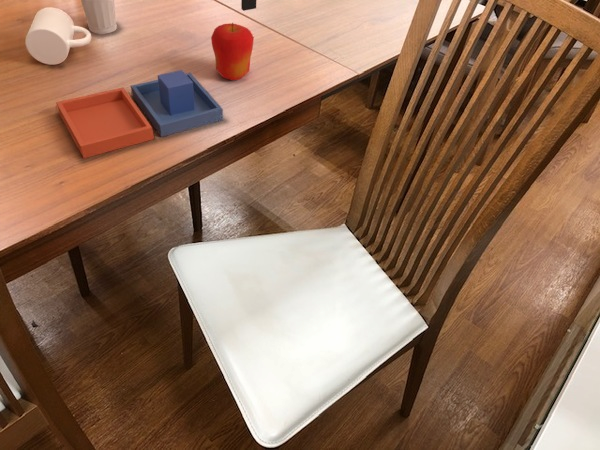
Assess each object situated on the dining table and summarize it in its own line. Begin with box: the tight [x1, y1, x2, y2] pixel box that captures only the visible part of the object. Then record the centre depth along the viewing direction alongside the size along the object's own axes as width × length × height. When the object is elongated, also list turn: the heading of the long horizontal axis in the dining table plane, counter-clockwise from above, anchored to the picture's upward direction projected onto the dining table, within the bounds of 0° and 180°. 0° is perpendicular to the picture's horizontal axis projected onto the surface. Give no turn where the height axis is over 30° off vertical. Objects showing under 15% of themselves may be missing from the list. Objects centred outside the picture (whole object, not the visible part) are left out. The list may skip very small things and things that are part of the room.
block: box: [156, 69, 195, 115], centre depth 97 cm, size 5×5×6 cm
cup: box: [80, 0, 118, 35], centre depth 115 cm, size 8×8×12 cm
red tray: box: [56, 87, 155, 159], centre depth 93 cm, size 15×13×3 cm
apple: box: [210, 22, 255, 81], centre depth 106 cm, size 9×8×12 cm
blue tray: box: [130, 72, 224, 138], centre depth 99 cm, size 15×13×3 cm
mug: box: [24, 6, 92, 66], centre depth 107 cm, size 12×10×8 cm
